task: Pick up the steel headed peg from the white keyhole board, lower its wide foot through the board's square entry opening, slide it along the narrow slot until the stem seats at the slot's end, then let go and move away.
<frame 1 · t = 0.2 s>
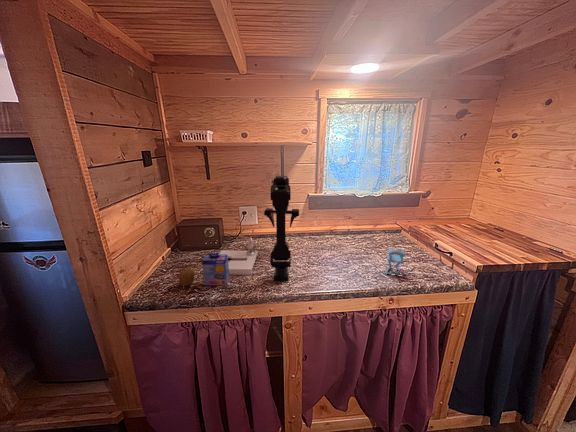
hand: (282, 227, 126), 14 cm above the worktop, tool pointing down, fingers open, 9 cm apart
chair: (393, 271, 108), on the worktop
fruit: (187, 285, 98), on the worktop
keyhole board: (235, 264, 116), on the worktop
steel peg: (251, 253, 121), point 3 cm above the worktop, touching keyhole board
ink cartridge box: (217, 282, 100), on the worktop
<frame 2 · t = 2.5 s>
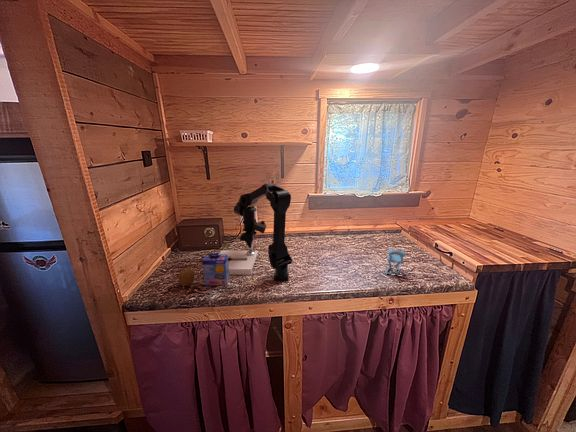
hand: (250, 246, 120), 7 cm above the worktop, tool pointing down, fingers closed on steel peg, 2 cm apart
steel peg: (251, 253, 121), point 3 cm above the worktop, touching gripper, keyhole board
everything else where it was.
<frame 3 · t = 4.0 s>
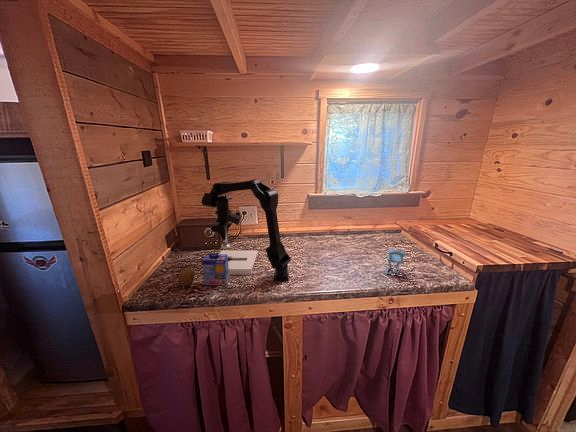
hand: (225, 239, 113), 13 cm above the worktop, tool pointing down, fingers closed on steel peg
steel peg: (225, 246, 114), point 9 cm above the worktop, touching gripper
everything else where it was.
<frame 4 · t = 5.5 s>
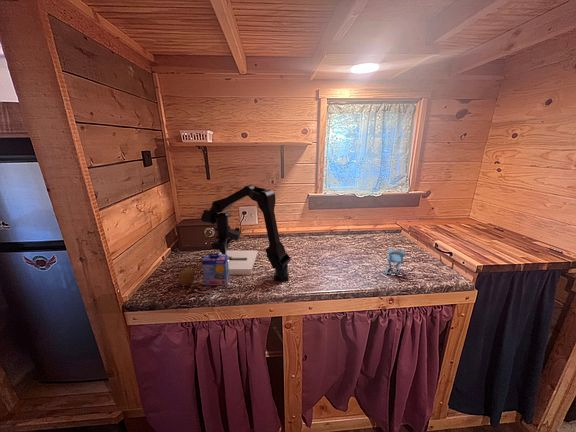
hand: (224, 254, 114), 5 cm above the worktop, tool pointing down, fingers closed on steel peg, 2 cm apart
steel peg: (225, 261, 116), point 1 cm above the worktop, touching gripper
everything else where it was.
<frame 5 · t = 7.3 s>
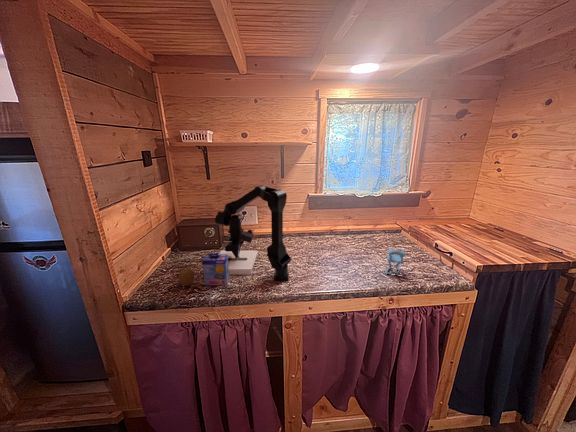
hand: (237, 256, 115), 4 cm above the worktop, tool pointing down, fingers closed on steel peg, 2 cm apart
steel peg: (238, 263, 116), on the worktop, touching gripper
everything else where it was.
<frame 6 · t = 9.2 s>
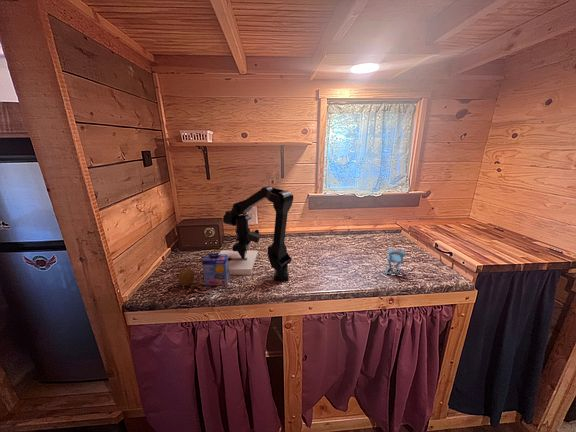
hand: (244, 256, 115), 4 cm above the worktop, tool pointing down, fingers open, 4 cm apart
steel peg: (244, 264, 116), on the worktop
everything else where it was.
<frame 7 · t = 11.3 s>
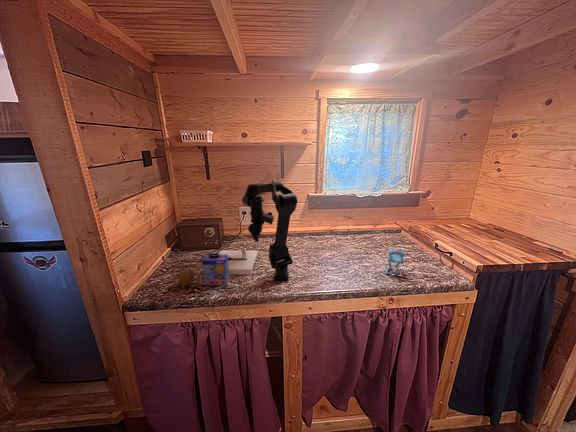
hand: (257, 238, 117), 12 cm above the worktop, tool pointing down, fingers open, 9 cm apart
nothing on the worktop moved.
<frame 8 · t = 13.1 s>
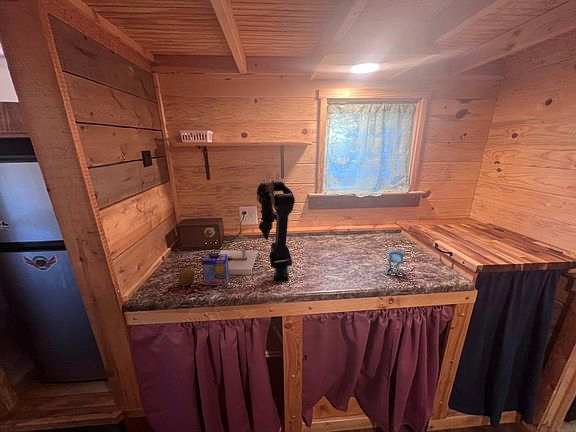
hand: (267, 236, 120), 12 cm above the worktop, tool pointing down, fingers open, 9 cm apart
nothing on the worktop moved.
at the end: steel peg 0.2 cm from the target spot on the keyhole board, point 0.0 cm above the keyhole board's base; steel peg tilted 0°; the gripper is holding nothing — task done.
